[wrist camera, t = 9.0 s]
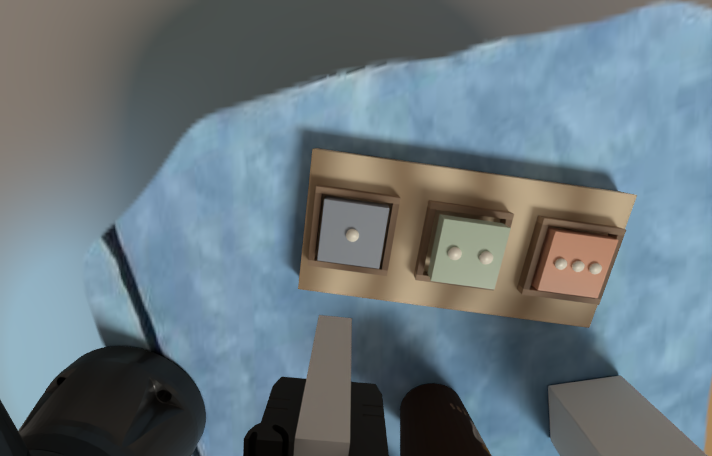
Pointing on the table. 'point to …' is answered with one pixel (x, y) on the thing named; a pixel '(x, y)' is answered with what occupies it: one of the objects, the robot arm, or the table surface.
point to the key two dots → (468, 251)
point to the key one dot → (352, 232)
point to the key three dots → (573, 262)
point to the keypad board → (460, 199)
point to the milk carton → (611, 422)
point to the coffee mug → (437, 424)
